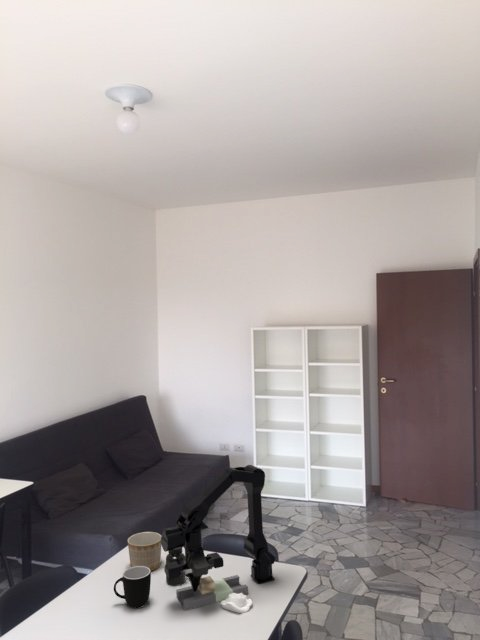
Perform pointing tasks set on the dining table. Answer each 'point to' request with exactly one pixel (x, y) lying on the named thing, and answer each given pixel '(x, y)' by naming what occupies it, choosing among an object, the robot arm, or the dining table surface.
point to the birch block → (206, 585)
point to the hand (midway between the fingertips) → (194, 591)
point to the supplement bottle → (179, 558)
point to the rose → (237, 603)
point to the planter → (145, 550)
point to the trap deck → (210, 593)
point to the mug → (135, 586)
